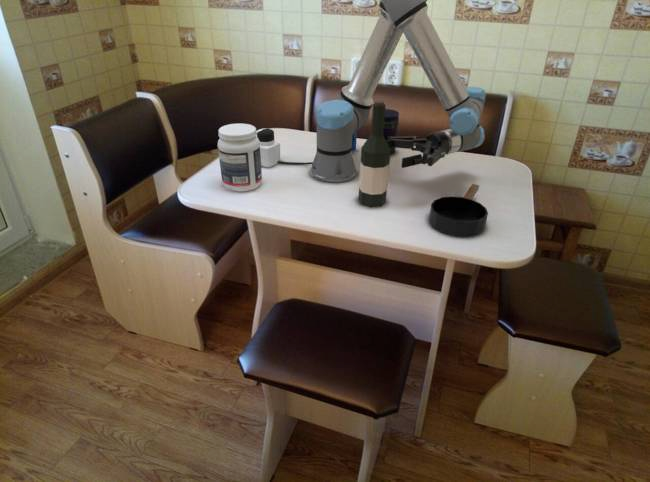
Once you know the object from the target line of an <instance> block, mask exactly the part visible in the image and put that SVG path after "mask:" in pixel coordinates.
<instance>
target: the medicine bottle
mask: <svg viewBox="0 0 650 482" xmlns="http://www.w3.org/2000/svg"><path fill="white" fill-rule="evenodd" d="M256 132H257V135H256V137H257V138H258V139H259V142H260V155H261V167H264V168H268V169H270V168H271V167H273V166H275V165H277V164H279V163H278V161H281V160H282V159H281V143H280V142H277V141H275V131H274V129H271V128H268V127H267V128H260V129H257V130H256Z"/></svg>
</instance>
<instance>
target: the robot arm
mask: <svg viewBox="0 0 650 482" xmlns="http://www.w3.org/2000/svg"><path fill="white" fill-rule="evenodd" d="M427 1H428V0H380V2H379V4H378V9H379V13H380V15H379V17H378V19H377V21H376V24H375V26H374V27H373V30H372V32H371V34H370V37H369V39H368V41H367V43H366V46H365V48H364V50H363V52H362V54H361V57H360V59H359V61H358V63H357V66H356V68H355V70H354V72H353V75H352V77H351V79H350V80H349V83H348V84H347V85H345V86H343V87H342V88H341V90H340V93H339V94H338V97H337V98H336V99H332V100H329V101H327V100H326V101H324V102H322V103H321V104H319V106H318V107H317V109H316V115H315V116H316V117H315V120H316V121H315V122H316V153H315V154H314V158H313V160H312V161H311V162H309V161H308V162H307V161H306V162H293V161H292V162H290V161H289V162H288V161H278V163H277V164H281V165H282V164H283V165H296V166H297V165H298V166H299V165H300V166H306V165H311V167H310V168H311V169H310V174H311V176H312V177H313V178H314V179H316V180H318V181H320V182H325V183H343V182H344V183H345V182H349V181H351V180H352V179H354V178H355V177H356V176H357V167H356V164H355V160H354V156H353V152H351V151H352V135H353V134H354V133H355V132H356V131H357V132H358V130H359V129H361V128H362V127H364V125H365V124H366V123H367V122H368V119H369V116H370V112H371V109H372V108H373V104H374V99H373V95H374V92H375V91H376V89H377V86H378V84H379V83H380V80H381V78H382V76H383V74H384V72H385V70H386V68H387V66H388V65H389V62H390V61H391V58H392V56H393V54H394V52H395V50H396V48H397V46H398V44H399V42H400V40H401V38H402V36H403V35H404V37H405V38H406V40H407V43H408V44H409V46H410V48H411V50H412V52H413V53H414V55H415V57H416V59H417V60H418V62H419V65H420V66H421V68H422V70H423V72H424V74H425V75H426V78H427V79H428V81H429V83H430V85H431V87H432V88H433V90H434V92H435V94H436V96H437V97H438V100H439V101H440V103H441V105H442V107H443V108H444V110H445V112H446V114H447V117H448V118H449V127H450V128H449V129H444V130H440V131H439V130H438V131H434V132H431V133H429V134H428V135H427V136H426V137H425V138H419V136H418V135H412V136H411V135H409V136H407V135H406V136H396V137H388V141H386V142H387V144H388V146H389V148H390V150H391V149H392V148H396V149H408V150H410V151H413V152H420V153H419V154H415V155H410V156H406V157H402V158H401V168H402V169H405V168H409V167H413V166H417V165H427V167H432V166H433V165H435V164H436V163H437V162H438V161H439V160H440V159H443V158H445V156H448V155H450V154H454V153H459V152H464V151H470V150H472V149H475V148H479V147H480V146H482V145H483V143H484V141H485V138H486V135H485V130H484V128H483V127H482V125H481V120H482V116H483V110H484V107H485V102H486V94H487V92H486V90H485V89H484V88H482V87H477V86H465V84H464V82H463V80H462V78H461V76H460V74H459V73H458V70H457V69H456V67H455V64H454V63H453V61H452V59H451V57H450V55H449V54H448V51H447V49H446V48H445V46H444V44H443V42H442V40H441V38H440V35H439V34H438V32H437V30H436V28H435V27H434V24H433V22H432V21H431V19H430V16H429V14H428V10H429V9H428V8H429V6H428V3H427Z"/></svg>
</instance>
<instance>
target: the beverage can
mask: <svg viewBox="0 0 650 482" xmlns="http://www.w3.org/2000/svg"><path fill="white" fill-rule="evenodd" d="M357 138H358V130H357V131H356V132H355V133H354V134H353V135H352V151H351V152H352V153H353V152H355V151H356V150H357V140H358V139H357Z"/></svg>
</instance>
